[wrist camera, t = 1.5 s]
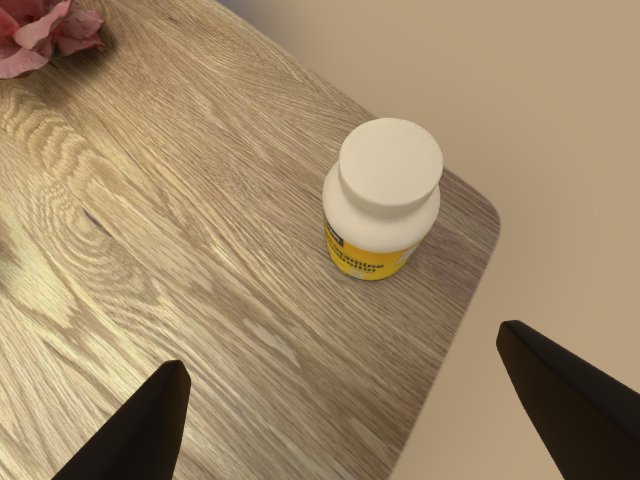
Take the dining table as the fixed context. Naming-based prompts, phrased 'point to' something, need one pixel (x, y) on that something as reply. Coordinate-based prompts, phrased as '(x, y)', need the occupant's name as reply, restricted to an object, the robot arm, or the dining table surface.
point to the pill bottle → (381, 197)
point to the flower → (43, 33)
